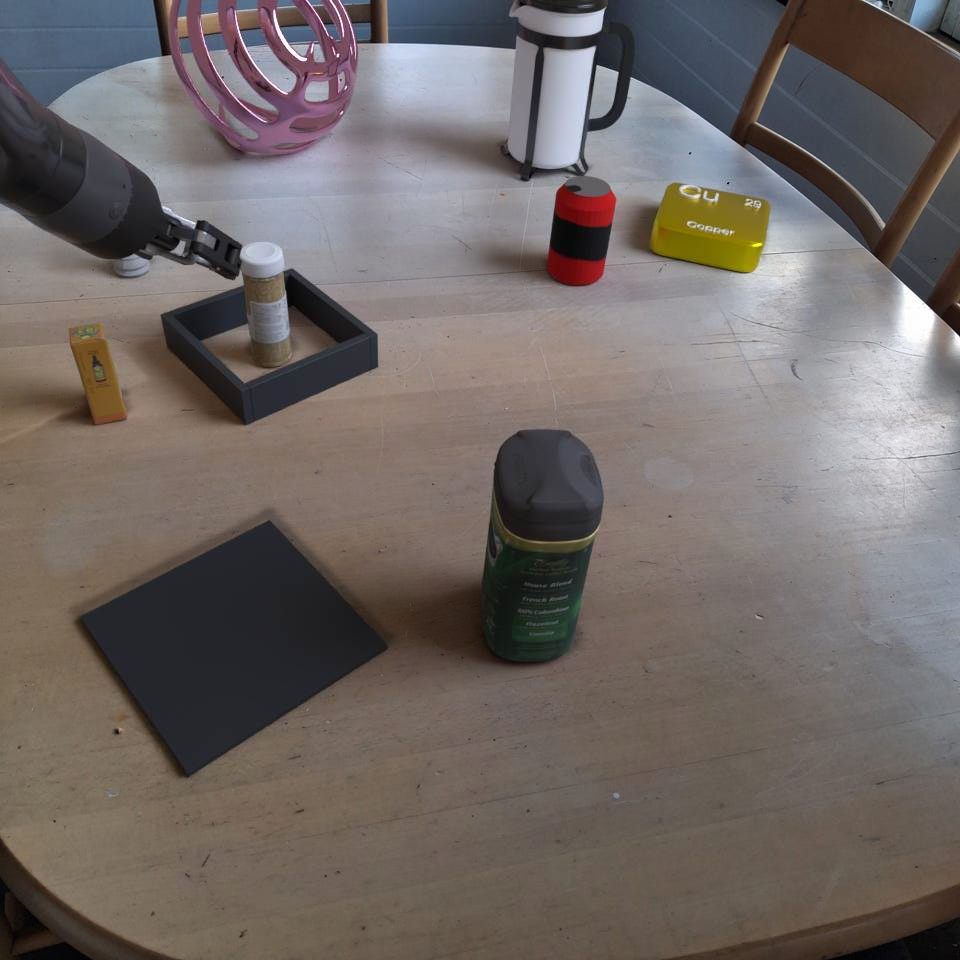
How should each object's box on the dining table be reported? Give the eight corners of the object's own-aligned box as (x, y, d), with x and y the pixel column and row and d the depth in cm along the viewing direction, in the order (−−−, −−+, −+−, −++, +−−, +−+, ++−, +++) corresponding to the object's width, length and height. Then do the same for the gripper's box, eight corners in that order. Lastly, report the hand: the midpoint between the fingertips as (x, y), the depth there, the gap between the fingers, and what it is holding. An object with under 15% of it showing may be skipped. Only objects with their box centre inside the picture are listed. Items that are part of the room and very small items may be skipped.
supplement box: (124, 400, 95) (103, 320, 88) (128, 420, 93) (106, 339, 86) (91, 406, 94) (67, 325, 87) (93, 426, 92) (69, 345, 85)
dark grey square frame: (245, 425, 93) (240, 391, 90) (167, 348, 102) (159, 314, 99) (378, 367, 102) (377, 333, 99) (295, 300, 111) (292, 267, 108)
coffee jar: (580, 665, 74) (619, 507, 62) (485, 669, 74) (504, 509, 61) (562, 575, 81) (593, 416, 69) (475, 578, 80) (490, 417, 68)
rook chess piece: (142, 281, 112) (129, 222, 106) (108, 276, 112) (93, 217, 107) (157, 263, 115) (145, 204, 109) (124, 258, 115) (110, 200, 110)
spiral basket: (113, -17, 133) (198, -108, 114) (275, 4, 152) (371, -71, 132) (159, 176, 138) (248, 121, 118) (311, 174, 156) (410, 126, 137)
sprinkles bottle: (258, 343, 104) (244, 237, 95) (297, 348, 104) (287, 242, 95) (247, 367, 101) (232, 259, 91) (287, 371, 100) (276, 264, 91)
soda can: (536, 263, 121) (546, 177, 113) (583, 252, 124) (597, 168, 116) (565, 291, 116) (578, 204, 108) (614, 280, 119) (630, 194, 111)
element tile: (646, 253, 125) (653, 221, 121) (663, 206, 135) (669, 176, 132) (755, 276, 122) (765, 244, 119) (763, 227, 133) (773, 196, 129)
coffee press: (569, 196, 136) (600, -25, 115) (479, 166, 141) (493, -50, 121) (618, 158, 147) (654, -50, 126) (532, 131, 152) (554, -72, 132)
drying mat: (188, 777, 65) (187, 773, 65) (80, 621, 74) (79, 616, 74) (387, 648, 74) (387, 644, 74) (270, 523, 84) (269, 519, 83)
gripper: (182, 160, 64) (275, 235, 80) (12, 124, 67) (135, 203, 83) (153, 262, 64) (252, 316, 80) (-15, 221, 67) (112, 281, 83)
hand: (192, 258), depth 81 cm, fingers open, 8 cm apart
